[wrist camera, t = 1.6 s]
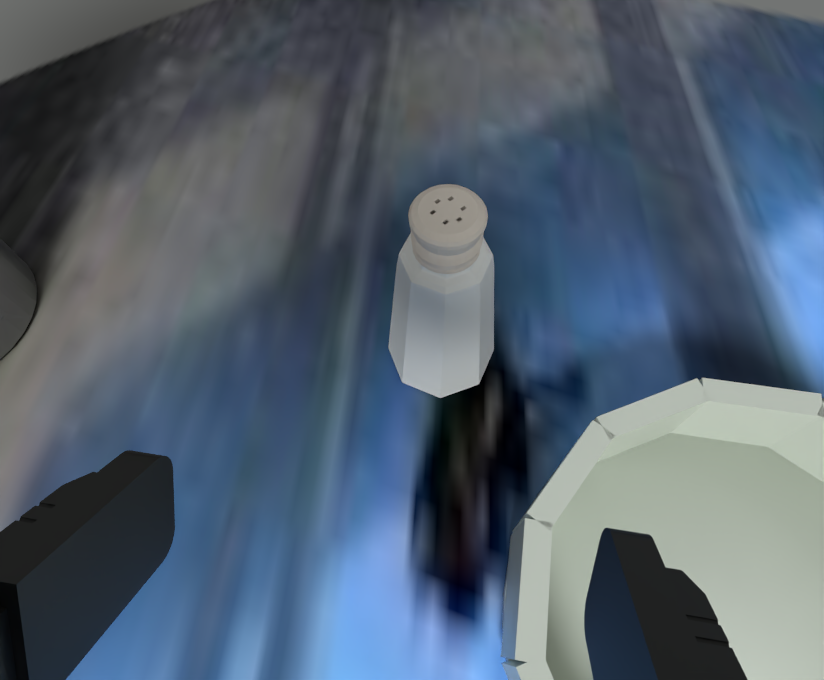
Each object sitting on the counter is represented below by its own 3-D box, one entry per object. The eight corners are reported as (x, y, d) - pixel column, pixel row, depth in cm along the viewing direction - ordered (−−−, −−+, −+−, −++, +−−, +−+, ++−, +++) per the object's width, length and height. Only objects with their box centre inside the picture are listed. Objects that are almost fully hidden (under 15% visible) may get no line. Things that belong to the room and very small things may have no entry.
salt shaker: (367, 348, 30) (338, 208, 20) (441, 287, 32) (448, 131, 22) (439, 420, 28) (447, 304, 18) (515, 352, 30) (558, 211, 20)
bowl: (413, 668, 23) (411, 675, 19) (636, 355, 30) (673, 305, 25) (865, 1092, 18) (1009, 1242, 13) (1022, 599, 24) (1157, 590, 20)
